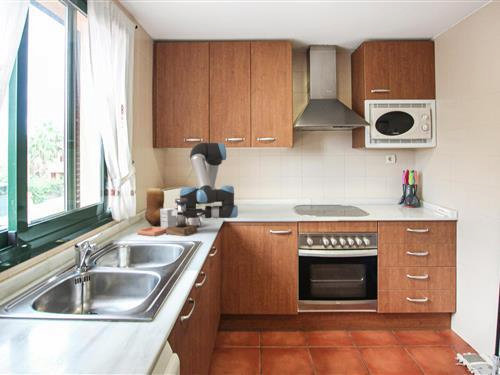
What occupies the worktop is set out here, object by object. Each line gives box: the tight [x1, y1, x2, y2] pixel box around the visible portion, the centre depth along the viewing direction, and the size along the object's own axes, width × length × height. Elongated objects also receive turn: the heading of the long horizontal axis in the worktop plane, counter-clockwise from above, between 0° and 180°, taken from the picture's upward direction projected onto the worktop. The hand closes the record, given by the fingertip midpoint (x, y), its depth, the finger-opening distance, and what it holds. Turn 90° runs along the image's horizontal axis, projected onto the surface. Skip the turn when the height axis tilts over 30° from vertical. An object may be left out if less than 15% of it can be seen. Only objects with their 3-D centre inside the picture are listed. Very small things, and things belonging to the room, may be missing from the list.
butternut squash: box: [144, 187, 165, 227], centre depth 240 cm, size 14×13×25 cm
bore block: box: [165, 225, 198, 237], centre depth 216 cm, size 13×13×4 cm
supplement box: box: [160, 207, 177, 228], centre depth 231 cm, size 7×7×13 cm
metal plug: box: [174, 197, 187, 228], centre depth 215 cm, size 7×7×18 cm
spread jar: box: [186, 216, 205, 228], centre depth 234 cm, size 12×11×12 cm
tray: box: [137, 226, 166, 237], centre depth 215 cm, size 13×13×2 cm
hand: (172, 212), depth 215 cm, fingers closed on metal plug, 5 cm apart
